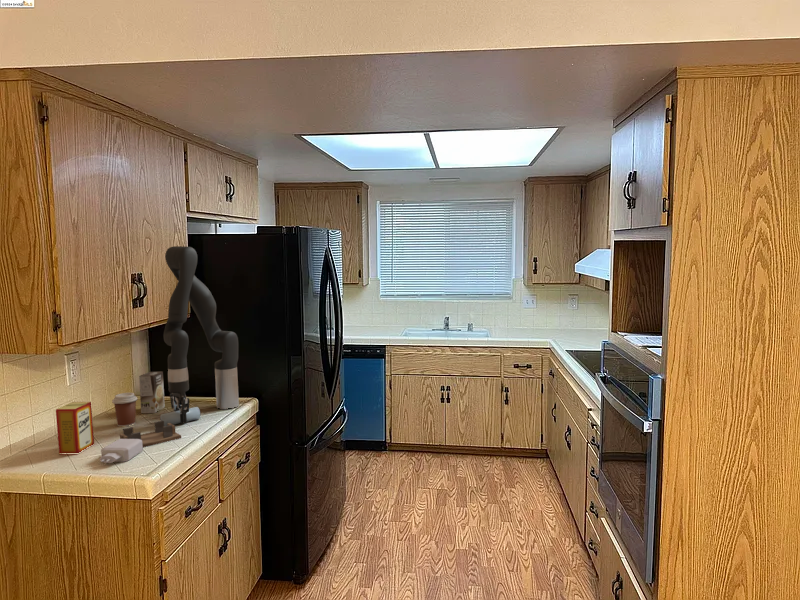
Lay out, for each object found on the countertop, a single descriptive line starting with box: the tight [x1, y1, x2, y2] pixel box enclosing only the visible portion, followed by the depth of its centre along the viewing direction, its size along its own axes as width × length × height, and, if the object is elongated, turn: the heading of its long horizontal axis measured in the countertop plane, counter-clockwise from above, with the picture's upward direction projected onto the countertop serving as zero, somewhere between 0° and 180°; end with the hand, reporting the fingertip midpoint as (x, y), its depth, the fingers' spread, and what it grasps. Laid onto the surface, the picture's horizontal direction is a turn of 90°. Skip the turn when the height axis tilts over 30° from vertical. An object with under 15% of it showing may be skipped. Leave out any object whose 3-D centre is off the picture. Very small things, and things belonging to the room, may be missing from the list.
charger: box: [99, 438, 144, 464], centre depth 188 cm, size 5×9×15 cm
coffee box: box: [138, 371, 166, 414], centre depth 246 cm, size 9×6×16 cm
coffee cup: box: [111, 392, 138, 427], centre depth 226 cm, size 9×9×12 cm
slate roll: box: [159, 406, 201, 426], centre depth 227 cm, size 14×5×5 cm, turn 133°
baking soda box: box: [55, 401, 95, 454], centre depth 198 cm, size 10×6×16 cm
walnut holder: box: [114, 420, 182, 448], centre depth 206 cm, size 12×19×5 cm, turn 133°
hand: (180, 421), depth 228 cm, fingers closed on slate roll, 5 cm apart
